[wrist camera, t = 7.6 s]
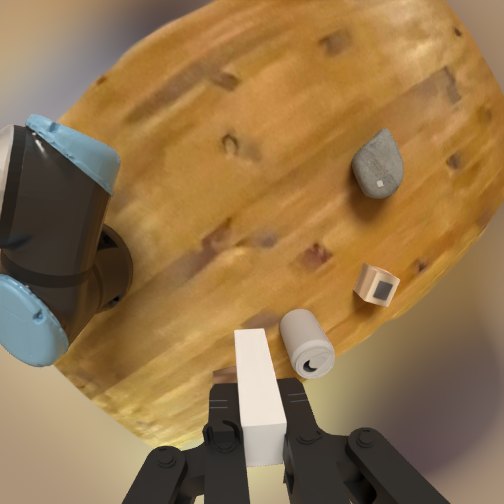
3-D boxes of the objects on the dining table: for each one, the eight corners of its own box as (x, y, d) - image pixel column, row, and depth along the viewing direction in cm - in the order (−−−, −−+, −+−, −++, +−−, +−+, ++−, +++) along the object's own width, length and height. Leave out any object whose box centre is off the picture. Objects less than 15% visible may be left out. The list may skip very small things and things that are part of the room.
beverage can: (271, 322, 48) (283, 364, 37) (302, 299, 48) (323, 336, 36) (292, 345, 50) (308, 388, 38) (321, 324, 49) (345, 363, 38)
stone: (409, 170, 44) (421, 186, 35) (366, 191, 48) (368, 211, 40) (385, 123, 41) (393, 128, 33) (341, 146, 46) (339, 156, 38)
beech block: (352, 289, 48) (365, 301, 43) (363, 262, 47) (377, 272, 42) (374, 295, 49) (388, 307, 44) (385, 270, 48) (400, 280, 43)
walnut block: (222, 389, 52) (222, 407, 47) (213, 371, 50) (212, 389, 45) (247, 383, 52) (249, 401, 47) (239, 364, 50) (240, 382, 45)
